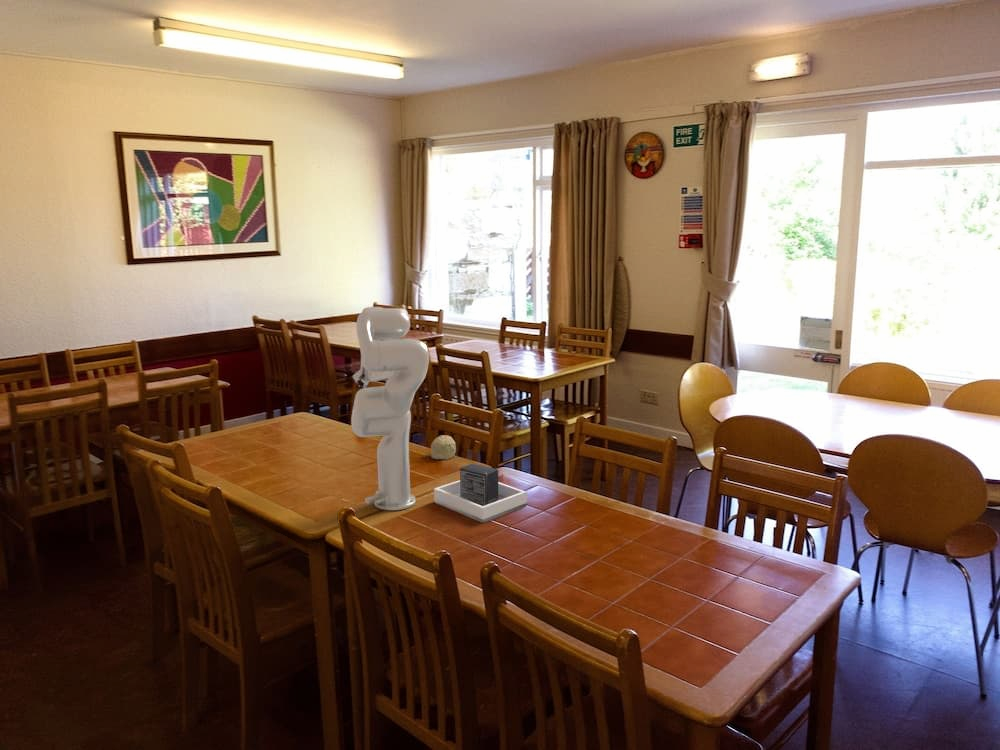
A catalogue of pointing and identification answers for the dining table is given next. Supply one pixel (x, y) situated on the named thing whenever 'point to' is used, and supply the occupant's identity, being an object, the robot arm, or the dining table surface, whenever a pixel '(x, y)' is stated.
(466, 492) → the small box
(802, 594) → the dining table surface
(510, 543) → the dining table surface
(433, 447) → the decorative object
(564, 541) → the dining table surface
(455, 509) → the bin
